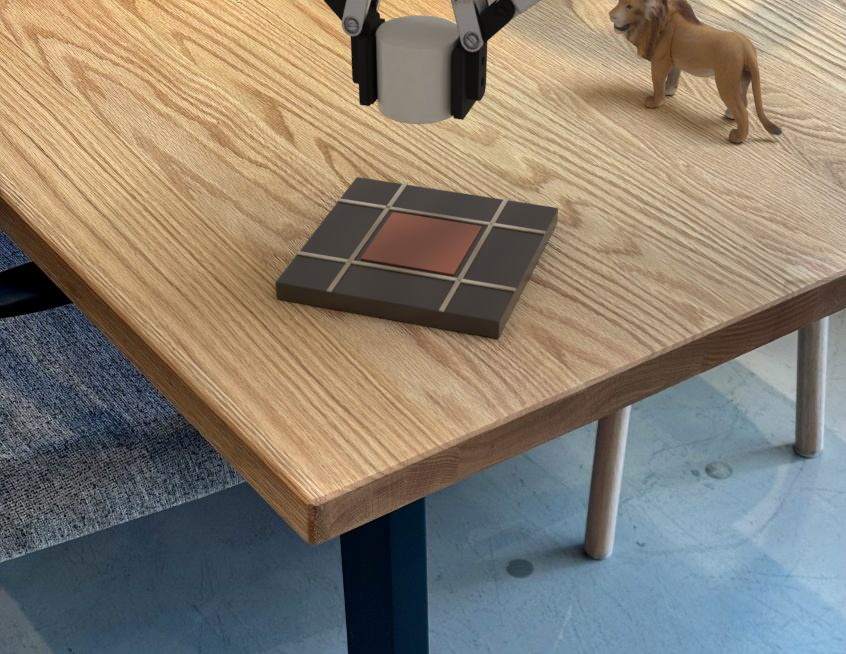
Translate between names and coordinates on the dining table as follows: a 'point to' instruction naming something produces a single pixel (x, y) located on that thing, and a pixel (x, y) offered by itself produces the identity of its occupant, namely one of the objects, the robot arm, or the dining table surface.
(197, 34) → the dining table surface
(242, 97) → the dining table surface
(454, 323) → the board
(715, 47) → the lion figurine
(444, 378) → the dining table surface
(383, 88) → the white plastic cylinder
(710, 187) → the dining table surface
